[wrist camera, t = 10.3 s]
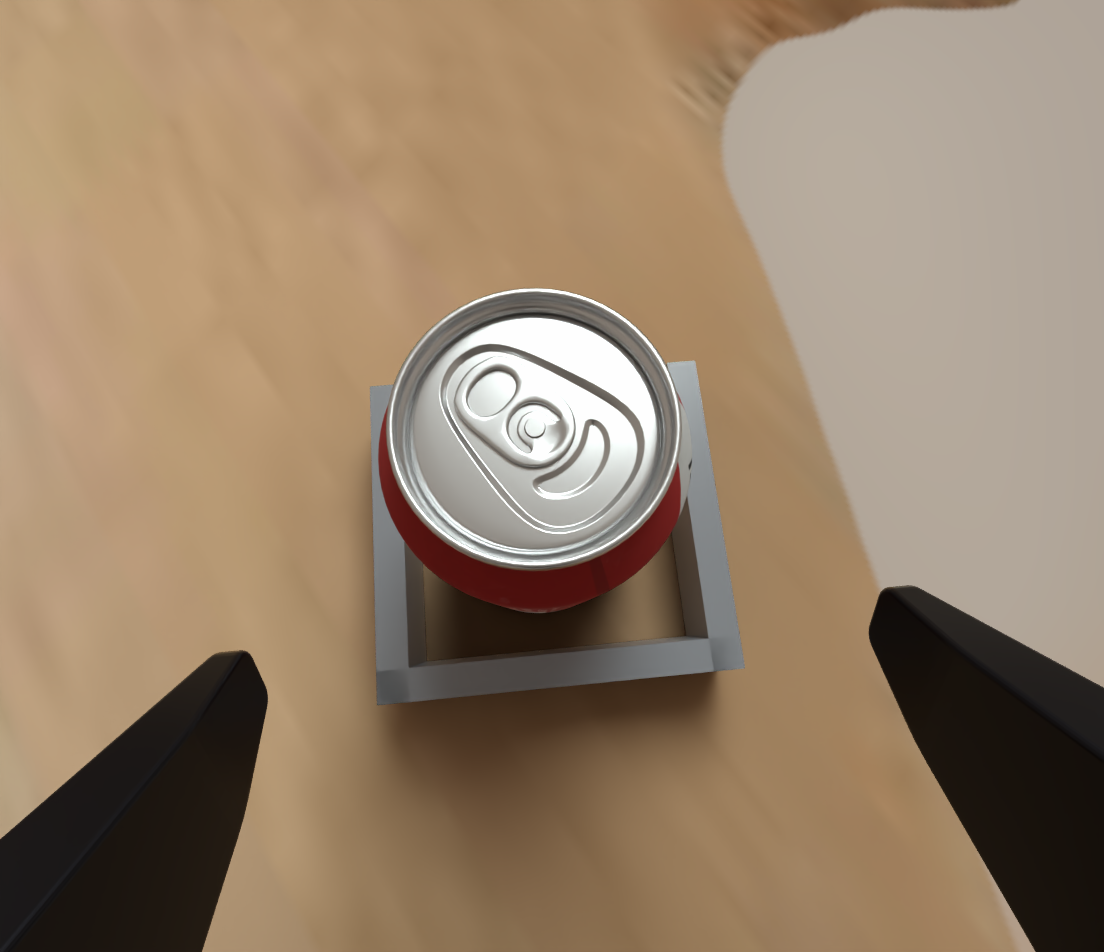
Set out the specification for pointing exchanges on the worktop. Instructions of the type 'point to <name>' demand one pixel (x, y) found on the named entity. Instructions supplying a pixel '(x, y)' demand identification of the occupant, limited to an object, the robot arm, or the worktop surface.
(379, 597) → the gray bracket
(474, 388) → the soda can
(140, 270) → the worktop surface
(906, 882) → the worktop surface
